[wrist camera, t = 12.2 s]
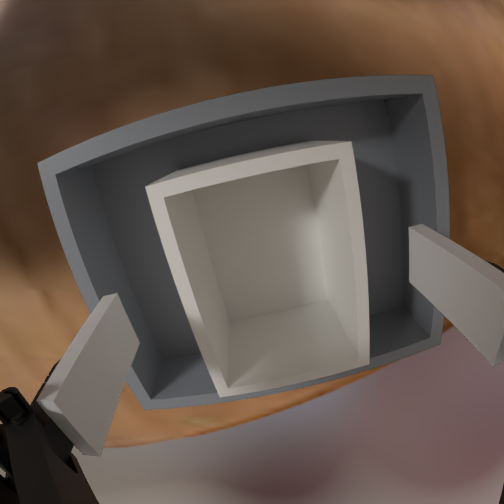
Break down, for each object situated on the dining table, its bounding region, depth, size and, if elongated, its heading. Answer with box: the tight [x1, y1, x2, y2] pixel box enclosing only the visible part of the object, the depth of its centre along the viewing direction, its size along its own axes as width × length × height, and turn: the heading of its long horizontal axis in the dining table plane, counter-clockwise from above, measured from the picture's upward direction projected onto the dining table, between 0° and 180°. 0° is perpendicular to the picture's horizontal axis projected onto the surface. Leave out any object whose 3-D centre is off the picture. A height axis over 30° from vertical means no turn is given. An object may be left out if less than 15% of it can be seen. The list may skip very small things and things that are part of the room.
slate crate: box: [37, 75, 450, 410], centre depth 18 cm, size 17×21×6 cm
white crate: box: [145, 141, 370, 397], centre depth 16 cm, size 11×8×7 cm
